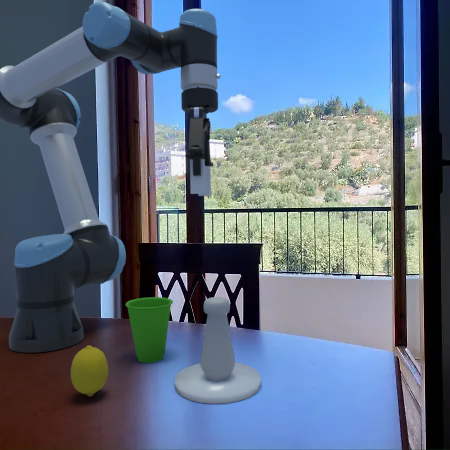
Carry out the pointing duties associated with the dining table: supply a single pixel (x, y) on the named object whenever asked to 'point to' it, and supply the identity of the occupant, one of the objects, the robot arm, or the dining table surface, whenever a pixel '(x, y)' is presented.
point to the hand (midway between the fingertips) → (201, 195)
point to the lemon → (89, 370)
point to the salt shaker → (217, 341)
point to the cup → (149, 326)
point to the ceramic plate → (217, 385)
